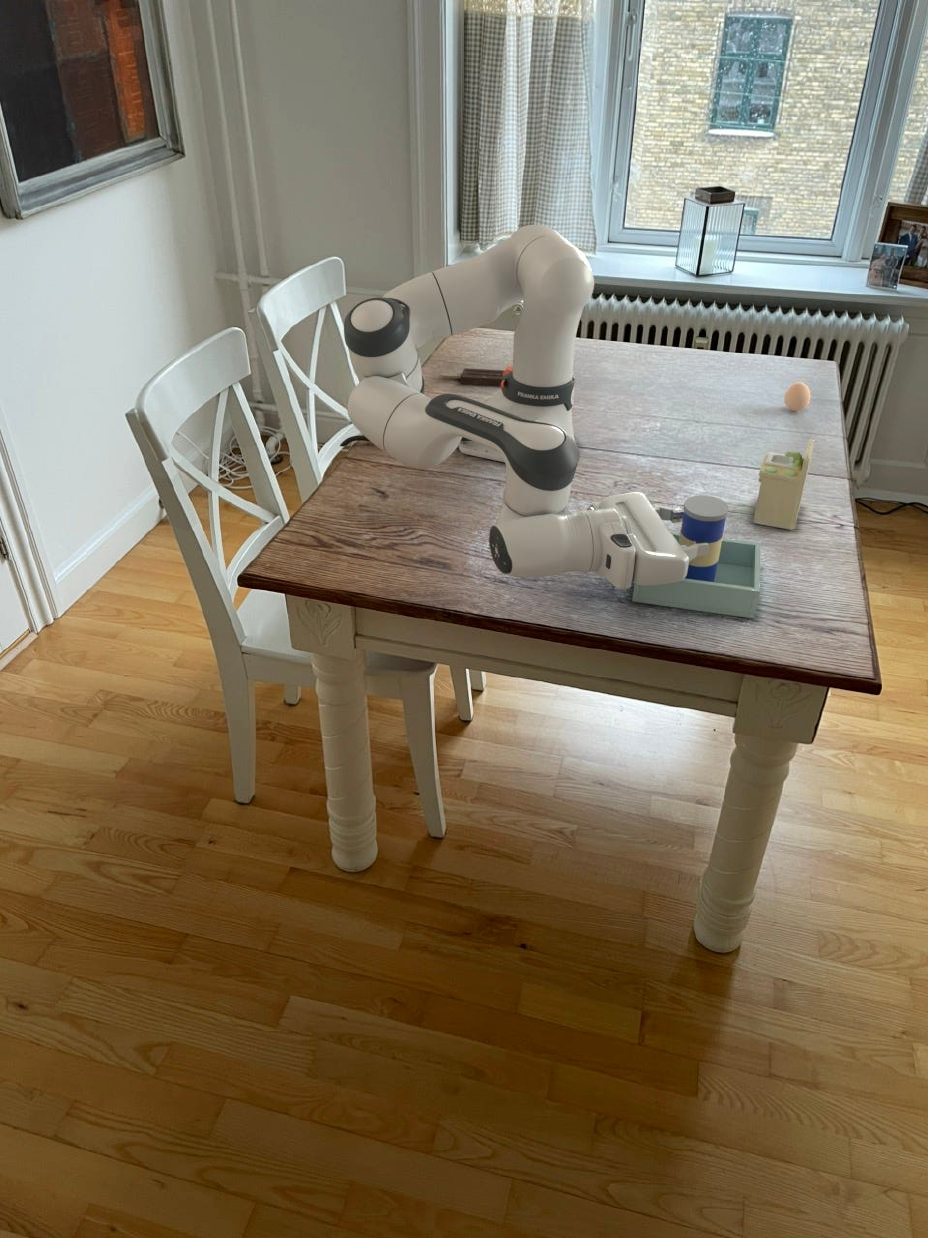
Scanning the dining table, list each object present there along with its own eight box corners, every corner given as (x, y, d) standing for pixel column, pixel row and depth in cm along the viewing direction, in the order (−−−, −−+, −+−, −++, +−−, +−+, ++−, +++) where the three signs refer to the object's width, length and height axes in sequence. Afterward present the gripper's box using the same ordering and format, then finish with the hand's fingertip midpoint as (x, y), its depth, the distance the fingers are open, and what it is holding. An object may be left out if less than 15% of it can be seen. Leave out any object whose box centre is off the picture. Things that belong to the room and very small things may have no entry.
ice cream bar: (438, 382, 211) (506, 386, 209) (438, 375, 210) (507, 379, 208) (442, 373, 215) (509, 377, 213) (442, 366, 214) (509, 370, 212)
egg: (782, 403, 202) (787, 376, 198) (807, 406, 200) (813, 379, 197) (781, 413, 198) (787, 386, 194) (807, 416, 197) (813, 389, 193)
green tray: (632, 601, 143) (635, 574, 140) (641, 554, 154) (644, 528, 151) (754, 618, 140) (760, 591, 137) (755, 569, 150) (760, 543, 147)
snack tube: (670, 589, 144) (682, 513, 137) (674, 567, 149) (685, 492, 142) (713, 595, 143) (727, 519, 135) (715, 572, 148) (729, 498, 140)
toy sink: (756, 500, 168) (770, 430, 160) (799, 507, 166) (815, 437, 158) (749, 523, 162) (763, 451, 154) (794, 531, 160) (810, 459, 152)
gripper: (581, 522, 149) (666, 514, 151) (623, 596, 132) (718, 586, 135) (584, 486, 145) (671, 478, 147) (628, 557, 129) (725, 547, 131)
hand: (694, 530), depth 141 cm, fingers open, 8 cm apart
